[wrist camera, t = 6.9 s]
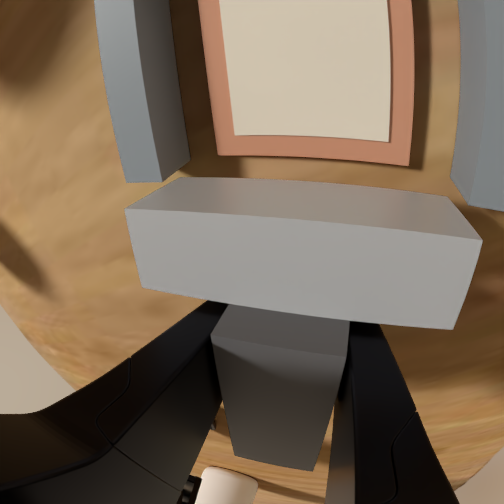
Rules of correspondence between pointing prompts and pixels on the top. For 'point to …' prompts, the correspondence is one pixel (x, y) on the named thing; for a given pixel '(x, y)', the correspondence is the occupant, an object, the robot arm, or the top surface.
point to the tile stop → (171, 112)
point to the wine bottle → (226, 487)
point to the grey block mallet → (299, 287)
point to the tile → (311, 77)
